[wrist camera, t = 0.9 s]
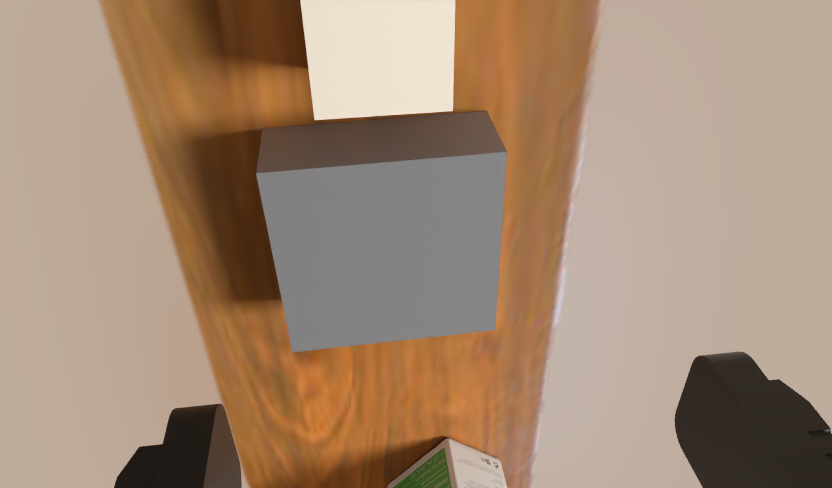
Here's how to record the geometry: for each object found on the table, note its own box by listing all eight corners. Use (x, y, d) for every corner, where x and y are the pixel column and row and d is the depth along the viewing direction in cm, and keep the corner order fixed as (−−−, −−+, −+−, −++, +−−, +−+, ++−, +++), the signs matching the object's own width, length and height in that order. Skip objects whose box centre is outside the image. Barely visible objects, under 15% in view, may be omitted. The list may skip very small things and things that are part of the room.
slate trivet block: (263, 125, 34) (256, 173, 30) (485, 108, 35) (506, 151, 31) (294, 295, 41) (292, 352, 37) (478, 276, 42) (495, 330, 38)
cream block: (300, -62, 29) (297, -28, 24) (433, -67, 29) (456, -35, 24) (315, 67, 32) (314, 120, 27) (433, 61, 33) (452, 111, 28)
